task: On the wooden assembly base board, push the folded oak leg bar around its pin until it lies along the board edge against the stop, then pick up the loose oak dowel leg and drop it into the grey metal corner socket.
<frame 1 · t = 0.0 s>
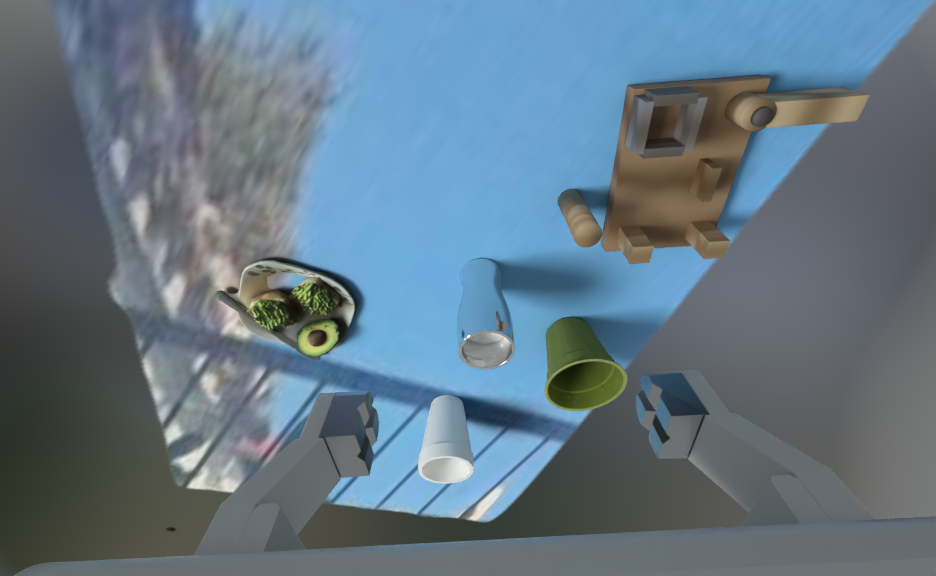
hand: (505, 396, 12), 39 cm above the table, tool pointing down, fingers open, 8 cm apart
oak leg peg: (569, 200, 50), on the table
wooden assembly base board: (669, 170, 48), on the table
foam cup: (447, 404, 77), on the table
plant pot: (567, 331, 65), on the table
salad plate: (302, 305, 61), on the table
beer glass: (480, 274, 57), on the table
hinged leg: (793, 108, 40), point 4 cm above the table, hinge at 90.0°
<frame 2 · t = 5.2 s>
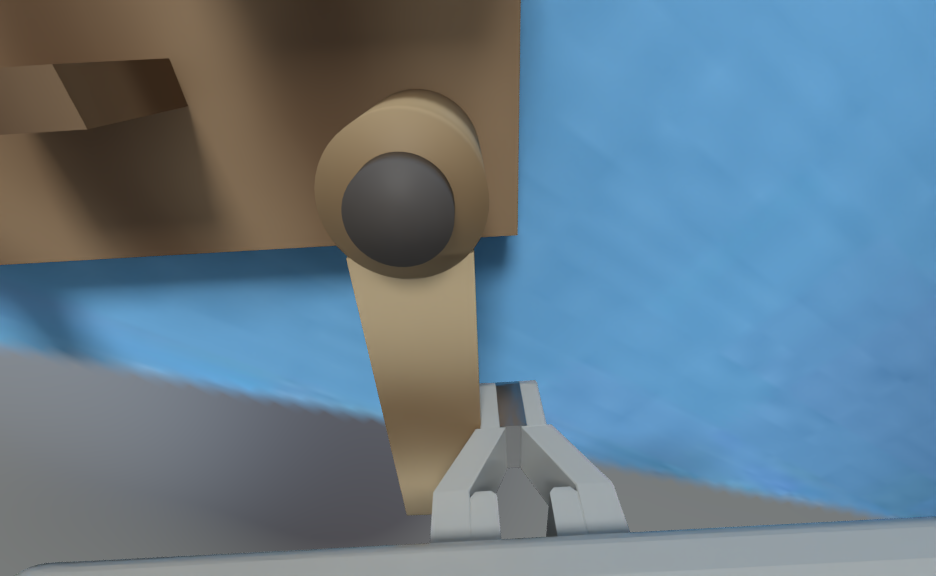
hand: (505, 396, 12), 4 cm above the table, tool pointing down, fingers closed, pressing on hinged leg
hinged leg: (431, 340, 10), point 4 cm above the table, hinge at 89.3°, touching gripper
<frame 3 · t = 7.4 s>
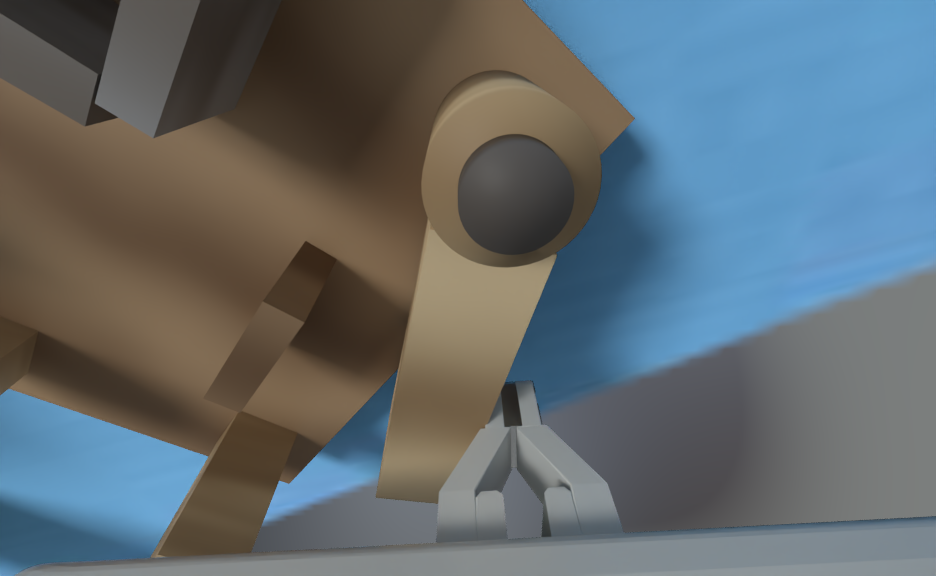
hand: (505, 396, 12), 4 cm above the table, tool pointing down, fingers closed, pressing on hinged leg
wooden assembly base board: (239, 221, 13), on the table
hinged leg: (456, 327, 10), point 4 cm above the table, hinge at 24.8°, touching gripper
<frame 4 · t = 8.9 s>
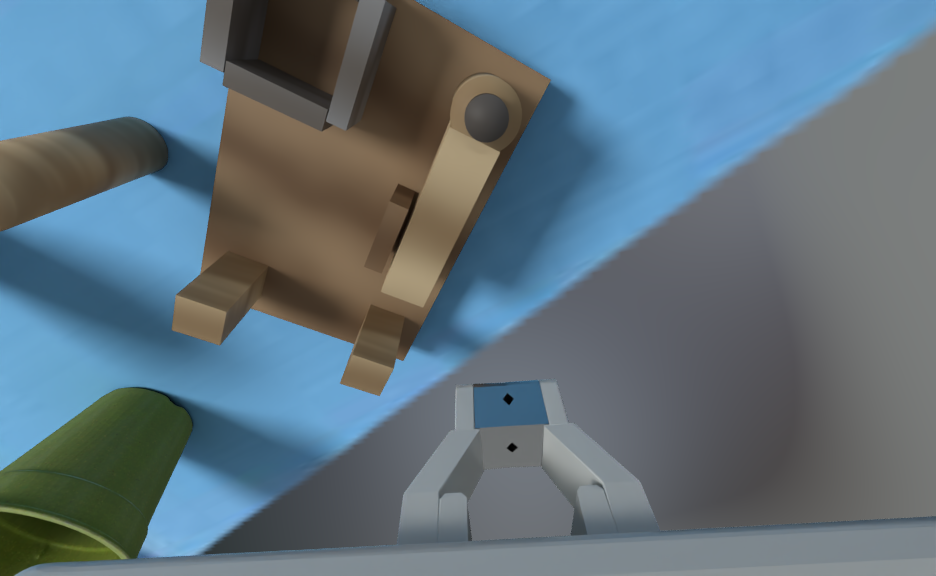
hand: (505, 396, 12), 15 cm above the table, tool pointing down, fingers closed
oak leg peg: (139, 145, 22), on the table
wooden assembly base board: (358, 188, 24), on the table
plant pot: (153, 413, 34), on the table
hinged leg: (446, 196, 19), point 4 cm above the table, hinge at 0.6°
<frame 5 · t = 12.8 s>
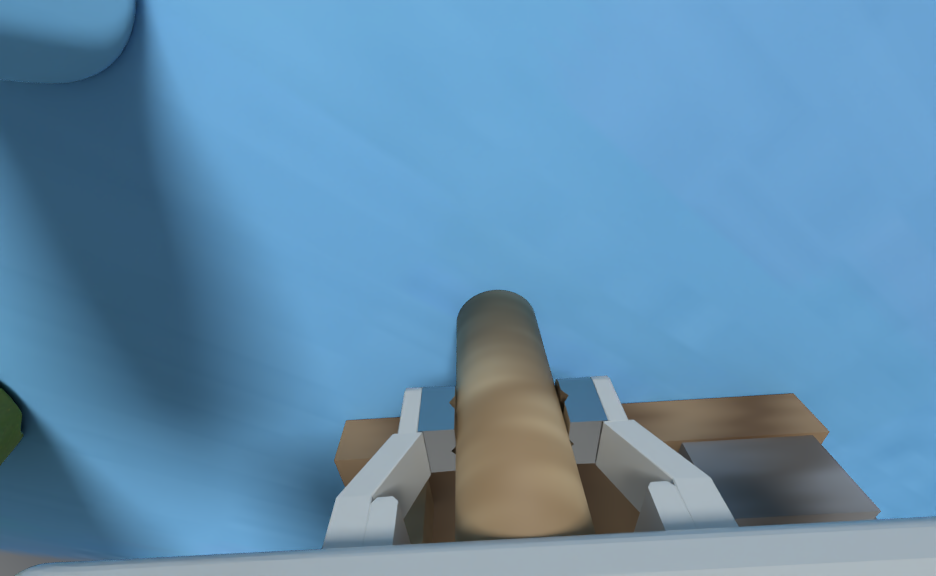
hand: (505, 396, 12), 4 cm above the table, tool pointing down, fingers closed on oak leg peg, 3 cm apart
oak leg peg: (496, 323, 15), on the table, touching gripper
wooden assembly base board: (558, 494, 21), on the table
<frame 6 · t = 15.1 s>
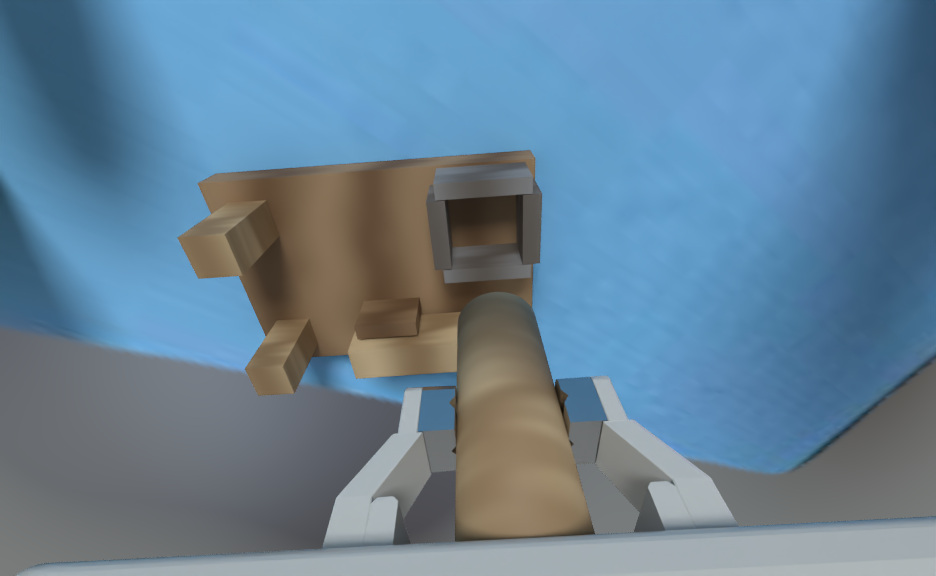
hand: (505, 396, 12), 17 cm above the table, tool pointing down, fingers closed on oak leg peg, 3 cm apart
oak leg peg: (496, 324, 15), point 13 cm above the table, touching gripper
wooden assembly base board: (390, 259, 28), on the table
hinged leg: (439, 345, 27), point 4 cm above the table, hinge at 0.5°
when the fingers open (6 cm above the table, at t = 17.3 s): oak leg peg stays where it is, resting on wooden assembly base board.
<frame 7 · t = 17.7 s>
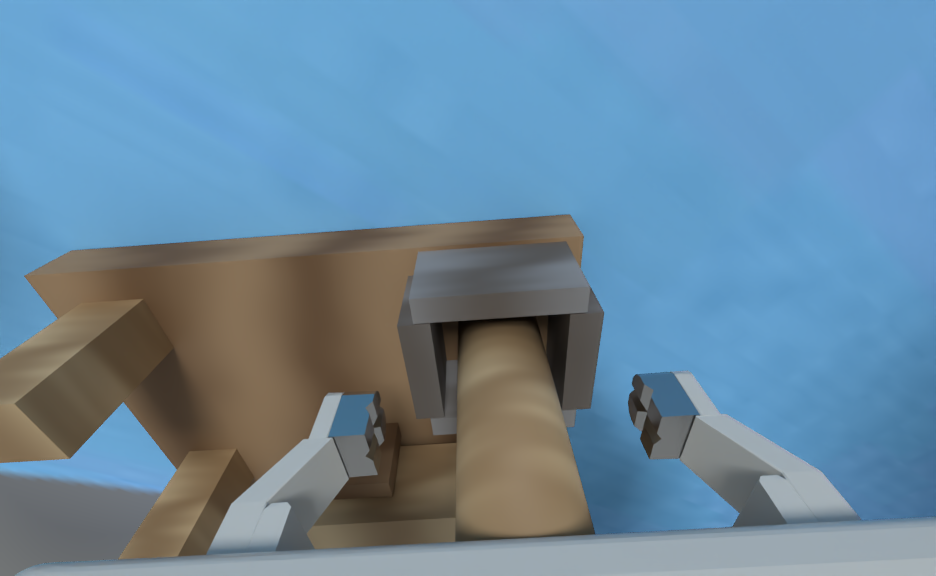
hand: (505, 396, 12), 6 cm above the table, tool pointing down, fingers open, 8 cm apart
oak leg peg: (496, 317, 15), point 2 cm above the table, touching wooden assembly base board
wooden assembly base board: (356, 363, 19), on the table
hinged leg: (427, 500, 18), point 4 cm above the table, hinge at 0.5°
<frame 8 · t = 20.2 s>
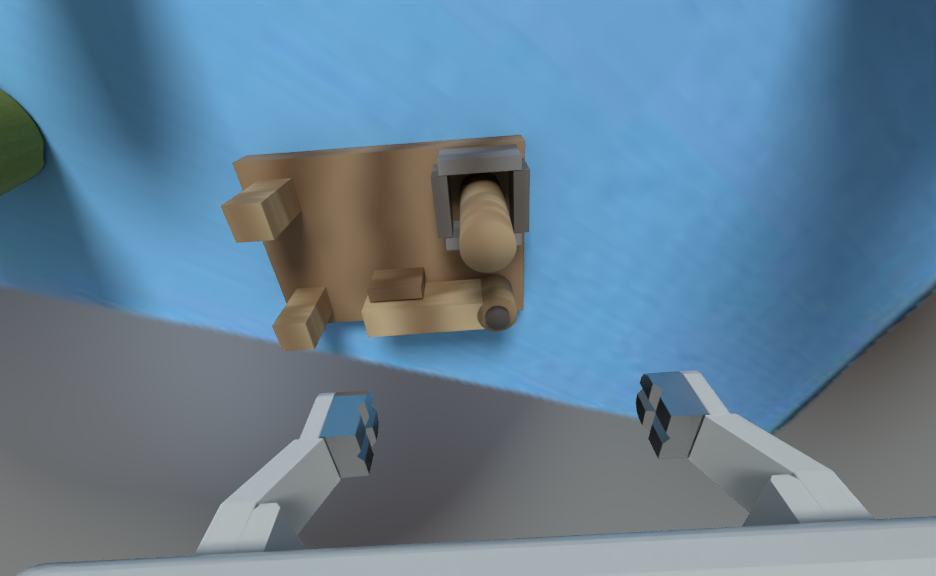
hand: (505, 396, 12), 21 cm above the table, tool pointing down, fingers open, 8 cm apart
oak leg peg: (480, 191, 28), point 2 cm above the table, touching wooden assembly base board
wooden assembly base board: (398, 234, 32), on the table
hinged leg: (441, 308, 30), point 4 cm above the table, hinge at 0.5°
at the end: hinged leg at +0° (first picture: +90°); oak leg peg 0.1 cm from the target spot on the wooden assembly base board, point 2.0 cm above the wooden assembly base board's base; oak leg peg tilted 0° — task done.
